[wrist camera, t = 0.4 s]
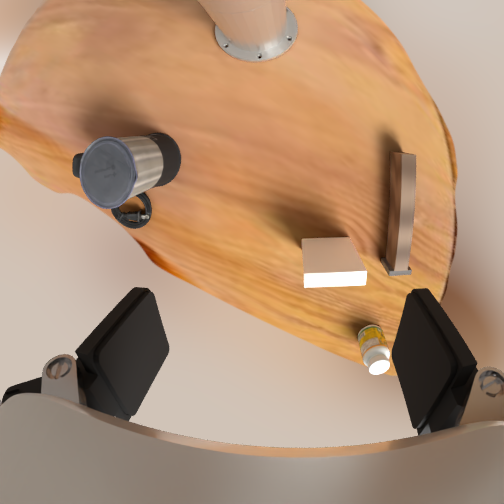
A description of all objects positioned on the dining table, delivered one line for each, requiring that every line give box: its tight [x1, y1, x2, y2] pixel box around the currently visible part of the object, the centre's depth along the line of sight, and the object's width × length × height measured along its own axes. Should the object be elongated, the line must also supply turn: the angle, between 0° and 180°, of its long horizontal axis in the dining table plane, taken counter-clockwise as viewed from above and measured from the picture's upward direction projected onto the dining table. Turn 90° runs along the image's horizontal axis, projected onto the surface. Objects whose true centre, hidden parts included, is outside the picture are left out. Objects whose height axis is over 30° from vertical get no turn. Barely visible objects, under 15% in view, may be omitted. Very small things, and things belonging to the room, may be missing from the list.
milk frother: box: [73, 133, 181, 229], centre depth 37 cm, size 14×16×15 cm
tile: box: [302, 237, 367, 288], centre depth 38 cm, size 2×8×12 cm, turn 95°
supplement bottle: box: [358, 325, 390, 375], centre depth 45 cm, size 5×5×10 cm
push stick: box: [381, 152, 416, 276], centre depth 37 cm, size 19×4×5 cm, turn 6°
